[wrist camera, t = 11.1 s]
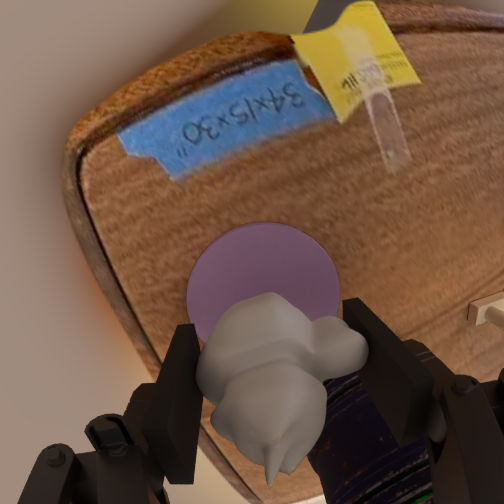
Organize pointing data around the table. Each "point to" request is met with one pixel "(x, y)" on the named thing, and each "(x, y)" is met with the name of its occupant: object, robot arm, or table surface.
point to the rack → (488, 310)
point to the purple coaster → (261, 273)
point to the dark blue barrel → (366, 452)
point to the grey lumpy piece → (274, 377)
